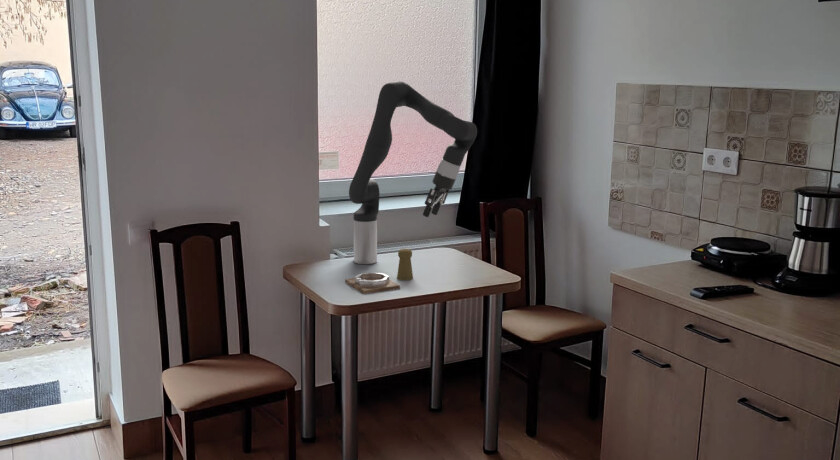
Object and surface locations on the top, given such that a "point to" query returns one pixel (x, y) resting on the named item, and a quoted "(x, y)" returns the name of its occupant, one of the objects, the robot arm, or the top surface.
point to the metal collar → (369, 283)
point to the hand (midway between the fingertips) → (429, 215)
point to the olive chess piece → (405, 265)
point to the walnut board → (365, 289)
